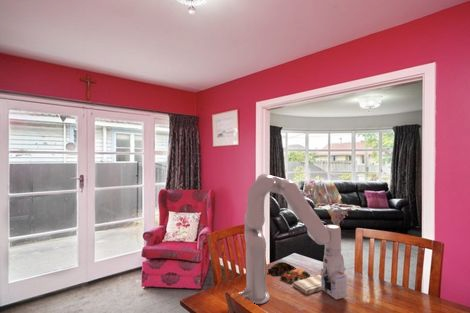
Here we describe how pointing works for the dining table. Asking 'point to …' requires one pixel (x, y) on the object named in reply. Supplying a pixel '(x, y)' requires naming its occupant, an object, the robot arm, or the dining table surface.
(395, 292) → the dining table surface
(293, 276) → the food
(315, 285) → the plank
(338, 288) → the light bulb box
